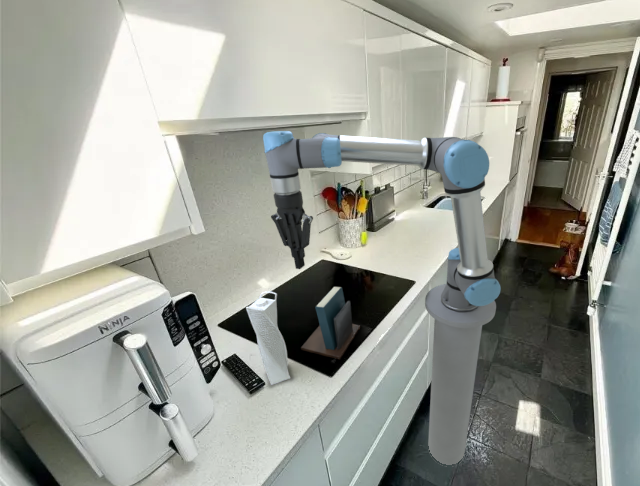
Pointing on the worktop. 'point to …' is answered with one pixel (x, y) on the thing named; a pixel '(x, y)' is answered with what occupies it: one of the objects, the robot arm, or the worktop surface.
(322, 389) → the worktop surface
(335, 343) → the book
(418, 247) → the worktop surface
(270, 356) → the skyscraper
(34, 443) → the worktop surface
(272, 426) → the worktop surface
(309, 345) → the book rest
